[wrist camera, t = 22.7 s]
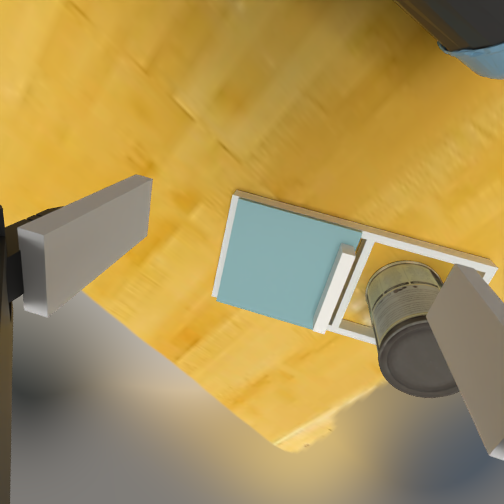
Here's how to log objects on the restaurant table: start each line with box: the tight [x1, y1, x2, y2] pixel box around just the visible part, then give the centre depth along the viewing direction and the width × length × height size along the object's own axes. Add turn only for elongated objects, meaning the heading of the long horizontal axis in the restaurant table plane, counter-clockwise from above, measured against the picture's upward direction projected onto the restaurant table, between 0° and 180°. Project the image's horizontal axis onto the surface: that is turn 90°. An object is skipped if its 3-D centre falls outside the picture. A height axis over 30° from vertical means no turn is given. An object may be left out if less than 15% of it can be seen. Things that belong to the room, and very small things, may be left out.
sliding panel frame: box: [212, 190, 498, 345], centre depth 49 cm, size 16×34×2 cm, turn 77°
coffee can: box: [366, 261, 460, 398], centre depth 43 cm, size 10×10×14 cm
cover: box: [216, 197, 362, 334], centre depth 46 cm, size 16×16×4 cm
